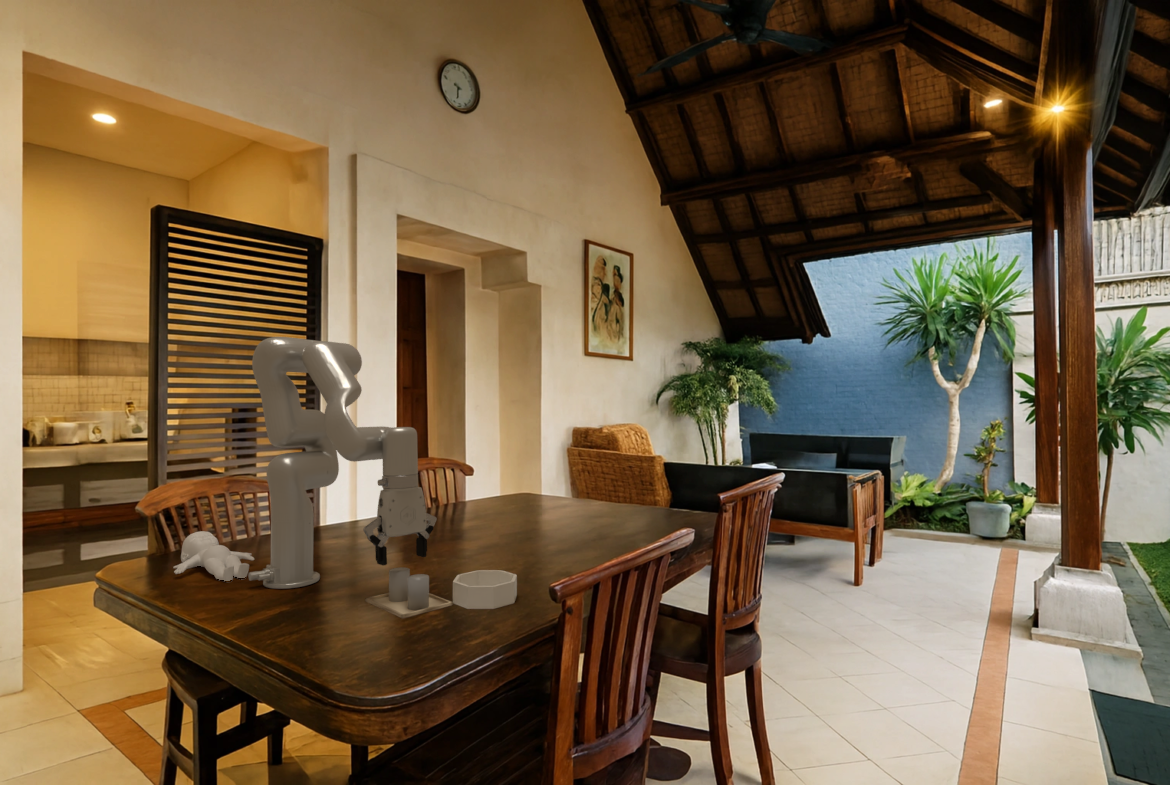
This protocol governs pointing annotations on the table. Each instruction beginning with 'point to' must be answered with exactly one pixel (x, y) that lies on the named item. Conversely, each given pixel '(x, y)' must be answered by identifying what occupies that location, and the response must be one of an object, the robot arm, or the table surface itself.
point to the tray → (406, 605)
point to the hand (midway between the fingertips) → (402, 560)
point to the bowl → (485, 589)
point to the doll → (212, 557)
